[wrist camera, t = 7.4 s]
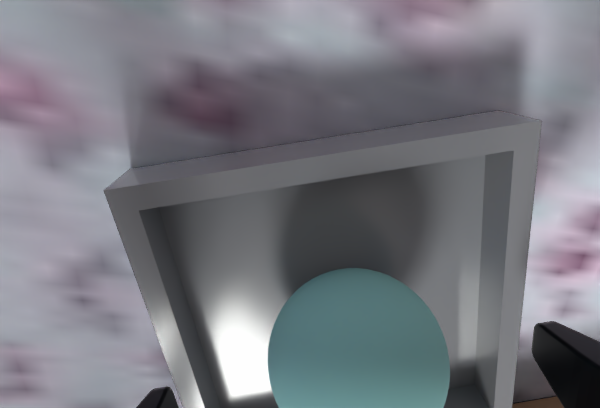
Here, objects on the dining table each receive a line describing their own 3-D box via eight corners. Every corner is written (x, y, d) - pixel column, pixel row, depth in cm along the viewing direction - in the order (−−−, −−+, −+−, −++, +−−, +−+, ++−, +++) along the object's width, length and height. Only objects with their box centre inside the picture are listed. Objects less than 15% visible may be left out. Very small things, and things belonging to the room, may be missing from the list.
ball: (410, 345, 12) (485, 488, 8) (279, 370, 12) (289, 530, 8) (405, 226, 11) (496, 330, 7) (253, 253, 10) (249, 378, 6)
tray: (482, 382, 14) (510, 424, 12) (215, 428, 14) (208, 477, 12) (499, 110, 10) (541, 120, 8) (130, 168, 10) (103, 190, 8)
